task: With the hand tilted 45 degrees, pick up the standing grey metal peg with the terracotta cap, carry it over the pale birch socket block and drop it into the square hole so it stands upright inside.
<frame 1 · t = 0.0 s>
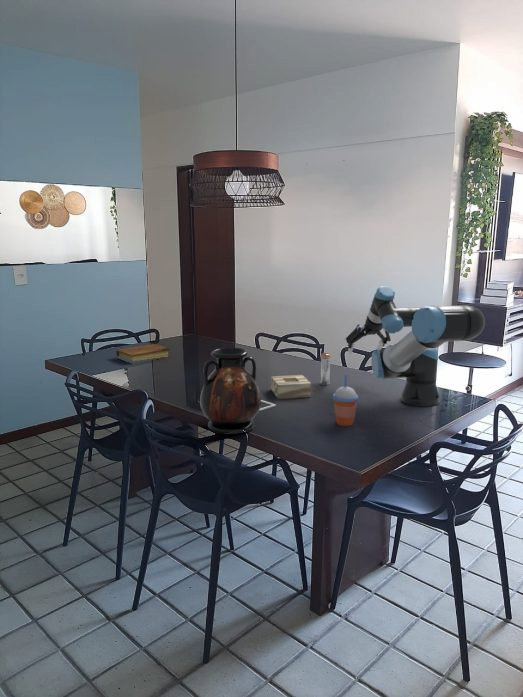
hand: (363, 351, 244), 15 cm above the table, fingers open, 13 cm apart
cup with straw: (344, 423, 196), on the table
diary: (143, 359, 302), on the table
socket block: (290, 393, 234), on the table
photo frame: (247, 406, 218), on the table
amphora vase: (231, 428, 192), on the table
peg: (325, 383, 248), on the table
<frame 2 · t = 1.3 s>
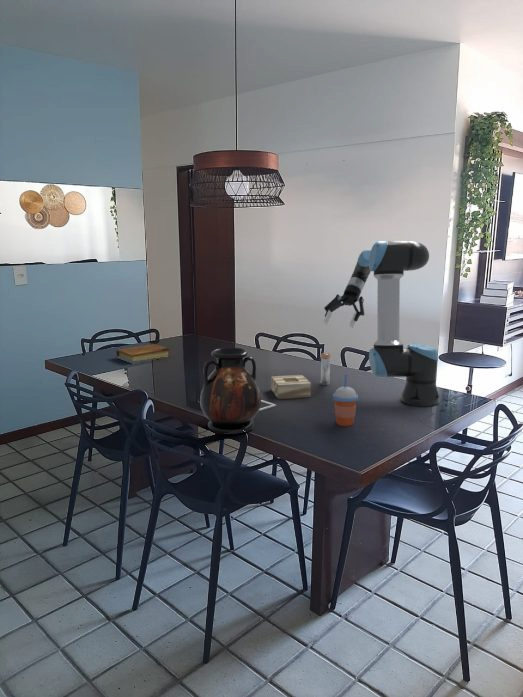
hand: (337, 324, 250), 26 cm above the table, fingers open, 13 cm apart
nothing on the table moved.
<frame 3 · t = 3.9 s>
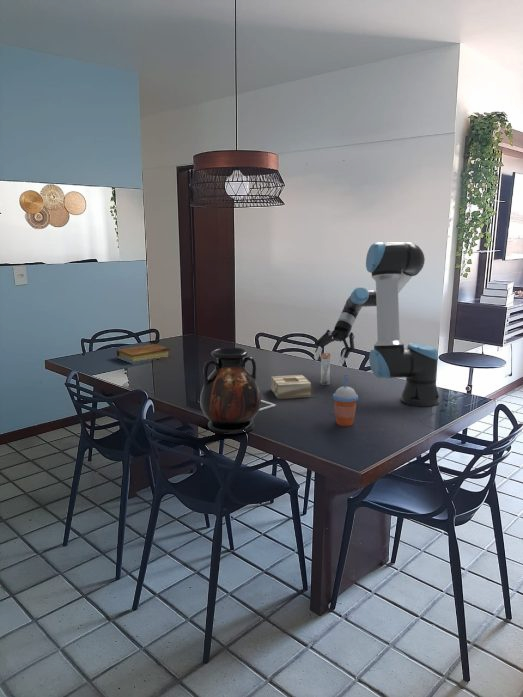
hand: (327, 361, 249), 10 cm above the table, fingers open, 13 cm apart
nothing on the table moved.
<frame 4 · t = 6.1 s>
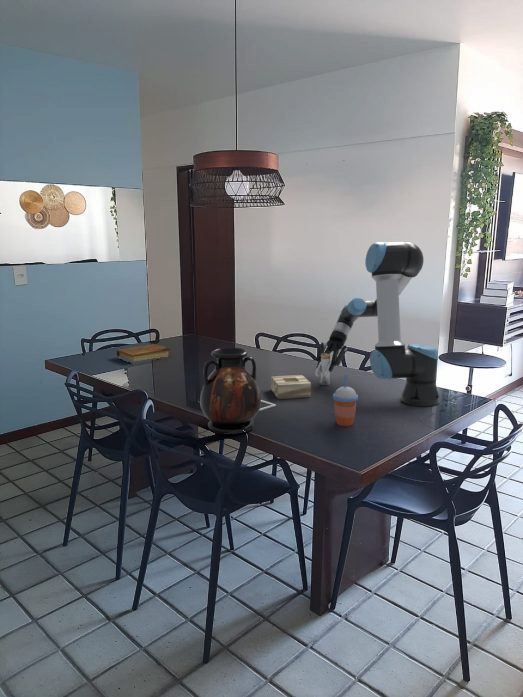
hand: (321, 375, 244), 5 cm above the table, fingers closed on peg, 4 cm apart
peg: (325, 383, 248), on the table, touching gripper
everything else where it was.
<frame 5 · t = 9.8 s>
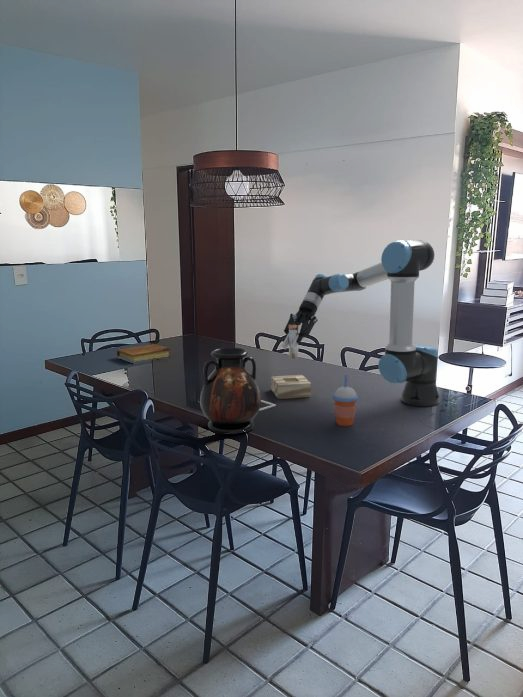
hand: (288, 348, 229), 20 cm above the table, fingers closed on peg, 4 cm apart
peg: (293, 357, 233), point 15 cm above the table, touching gripper
everything else where it was.
when the fingers open (8 cm above the table, at t = 13.6 s): peg drops 2 cm, resting on socket block.
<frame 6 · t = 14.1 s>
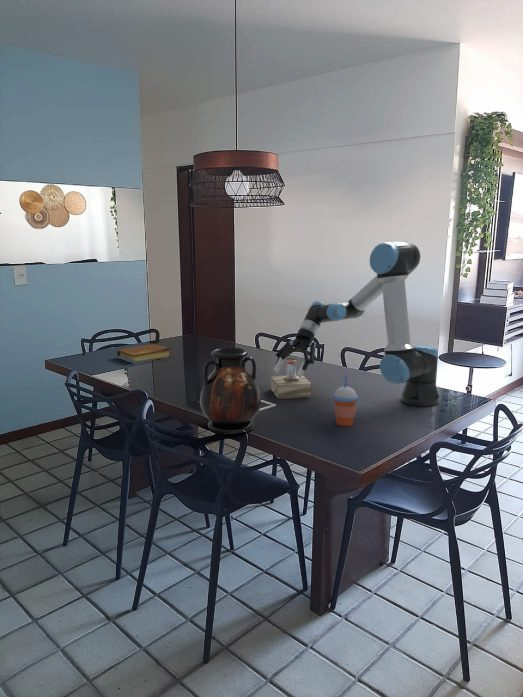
hand: (287, 373, 230), 9 cm above the table, fingers open, 11 cm apart
peg: (290, 390, 233), point 1 cm above the table, touching socket block
everything else where it was.
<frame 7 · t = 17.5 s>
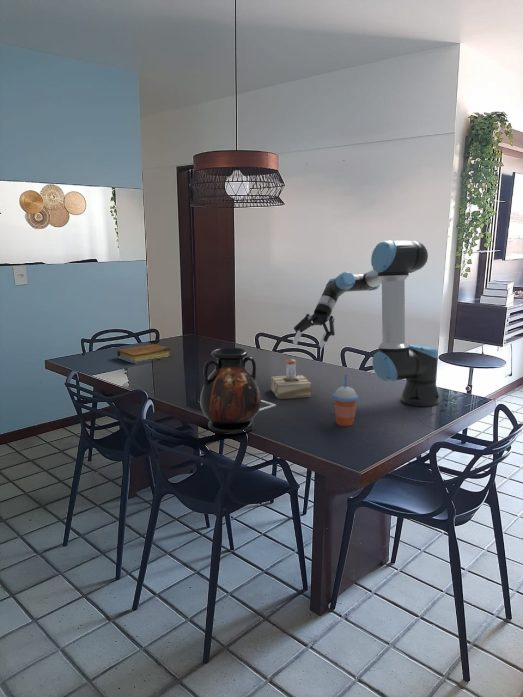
hand: (307, 345, 239), 19 cm above the table, fingers open, 13 cm apart
nothing on the table moved.
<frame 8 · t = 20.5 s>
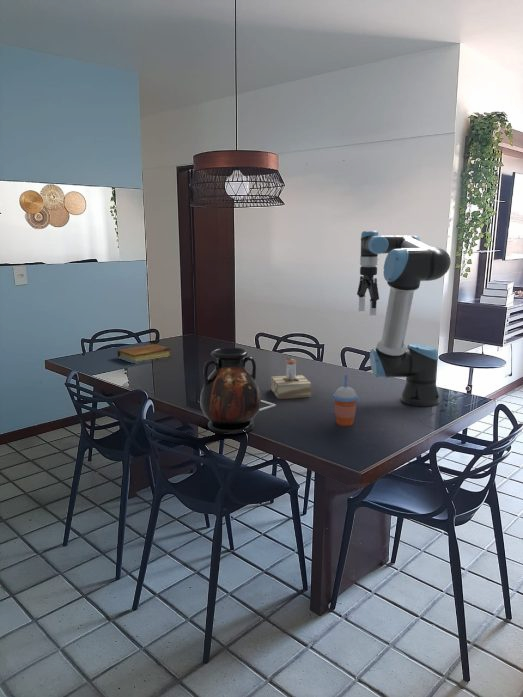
hand: (367, 313, 247), 32 cm above the table, fingers open, 13 cm apart
nothing on the table moved.
at the end: peg 0.1 cm off-centre on the socket block, point 1.0 cm above the socket block's base; peg tilted 0°; the gripper is holding nothing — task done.
